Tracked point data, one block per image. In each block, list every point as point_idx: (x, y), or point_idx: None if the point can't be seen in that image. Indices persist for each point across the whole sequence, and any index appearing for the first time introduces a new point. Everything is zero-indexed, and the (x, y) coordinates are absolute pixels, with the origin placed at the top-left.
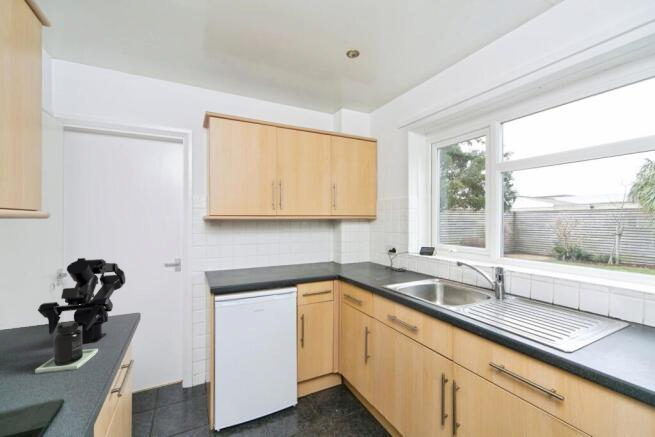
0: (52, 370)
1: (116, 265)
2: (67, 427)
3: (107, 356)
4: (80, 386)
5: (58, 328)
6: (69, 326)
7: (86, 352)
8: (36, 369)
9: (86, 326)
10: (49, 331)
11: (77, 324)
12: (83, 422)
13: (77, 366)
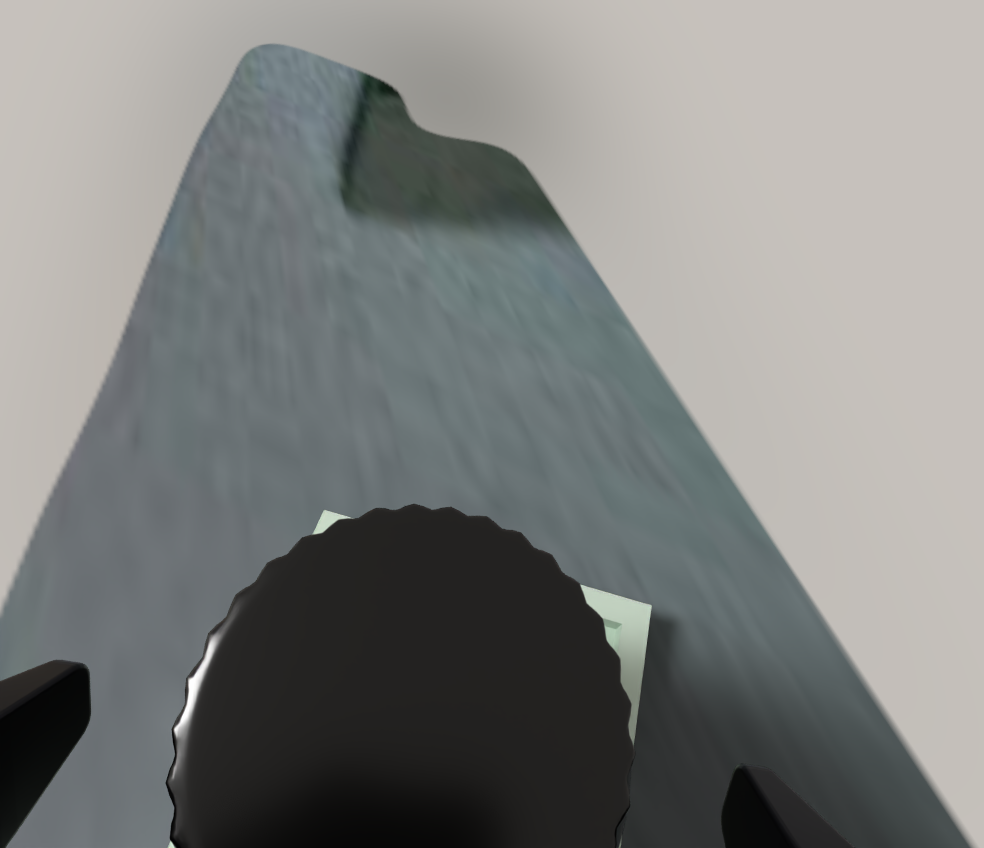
0: None
1: None
2: (301, 61)
3: None
4: (283, 280)
5: (568, 581)
6: (339, 521)
7: None
8: (643, 609)
9: (26, 684)
10: (784, 785)
11: (186, 729)
12: (253, 60)
13: (324, 521)
